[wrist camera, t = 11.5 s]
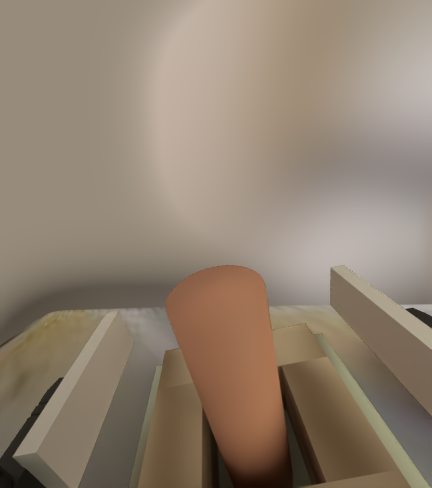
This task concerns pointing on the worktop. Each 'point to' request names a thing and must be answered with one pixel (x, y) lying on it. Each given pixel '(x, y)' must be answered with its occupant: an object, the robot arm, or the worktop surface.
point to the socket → (296, 418)
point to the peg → (235, 370)
